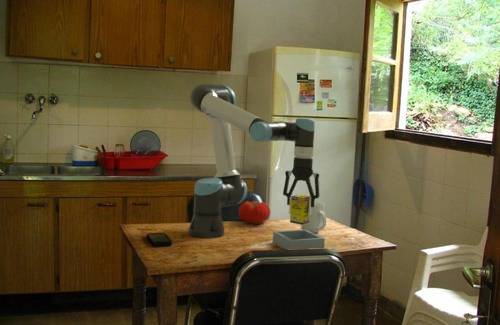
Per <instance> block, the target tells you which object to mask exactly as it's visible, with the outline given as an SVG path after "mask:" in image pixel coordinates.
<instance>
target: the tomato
mask: <svg viewBox="0 0 500 325" xmlns="http://www.w3.org/2000/svg"><path fill="white" fill-rule="evenodd" d="M238 215H239V218H240V219H241V220H242V221H243V222H245V223H246V224H255V225H259V224H261V223H263V222H265V221H267V220H268V219H269V217H270V215H271V210H270V206H269V205H268V204H267V203H265V202H264V201H262V202H261V201H260V202H259V201H257V200H253V201H251V202H250V201H248V200H246V201H243V202H242V203H241V205H240V206H239V208H238Z"/></svg>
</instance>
